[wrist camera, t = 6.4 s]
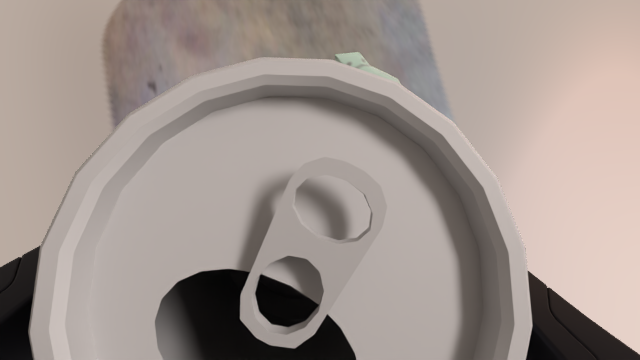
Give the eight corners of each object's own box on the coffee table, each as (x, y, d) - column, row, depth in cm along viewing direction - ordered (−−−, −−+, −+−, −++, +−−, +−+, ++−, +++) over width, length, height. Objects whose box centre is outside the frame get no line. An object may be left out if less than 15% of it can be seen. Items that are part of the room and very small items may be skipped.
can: (200, 271, 15) (-223, 468, 3) (272, 143, 16) (179, -90, 4) (332, 341, 15) (454, 849, 3) (396, 207, 16) (675, 161, 4)
